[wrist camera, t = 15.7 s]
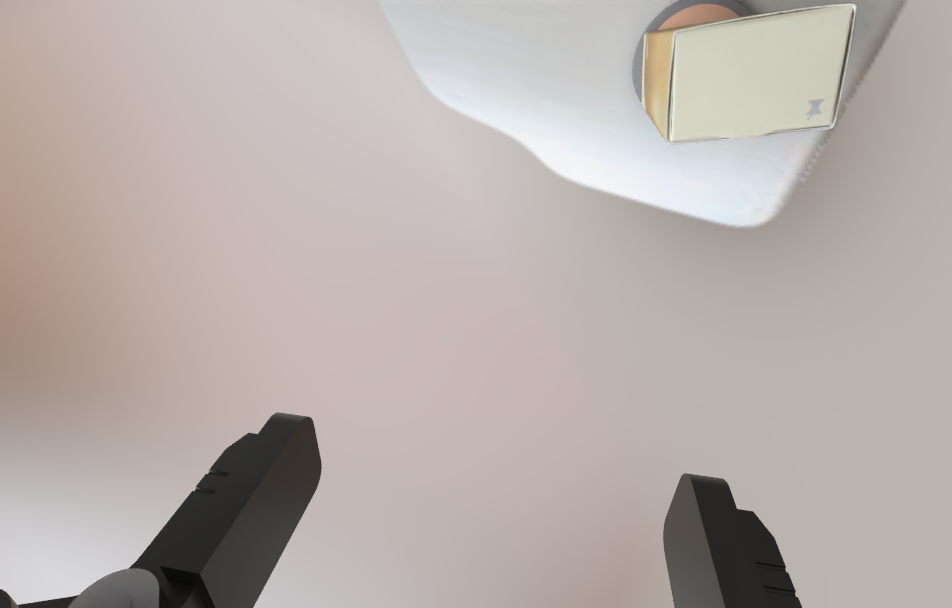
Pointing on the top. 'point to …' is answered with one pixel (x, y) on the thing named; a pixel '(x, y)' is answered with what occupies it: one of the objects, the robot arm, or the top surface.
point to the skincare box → (748, 74)
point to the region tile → (695, 6)
